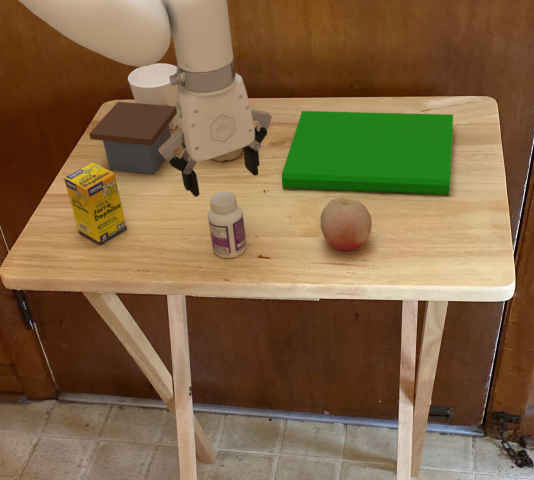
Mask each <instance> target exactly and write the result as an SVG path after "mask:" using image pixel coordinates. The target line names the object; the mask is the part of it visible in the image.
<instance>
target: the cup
mask: <svg viewBox="0 0 534 480" xmlns="http://www.w3.org/2000/svg"><path fill="white" fill-rule="evenodd" d="M176 72H177V67H176V65H175V64H174V65H173V64H170V63H161V62H159V63H154V64H152V65H149V66H144V67H137V68H136V69H134V70H132V71H131V72H130V73H129V74H128V77H127V81H128V84H129V87H130V89H131V90H130V91H131V92H132V96H133V99H134V101H135V103H140V104H151V105H163V106H175V107H177V87H178V85H174V86H172V84H171V82H170V78H169V77H170V76H171V75H174V74H175V73H176ZM176 127H178V123H177V114H176V115H175V117H174V118H173V119H172V120H171V122H170V123H169V129H170V131H171V130H172V131H173V130H175V129H176Z"/></svg>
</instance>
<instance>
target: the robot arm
mask: <svg viewBox="0 0 534 480" xmlns="http://www.w3.org/2000/svg"><path fill="white" fill-rule="evenodd" d="M17 1H18V2H19V3H21V4H22V5H23V6H24V7H25V8H27V9H28V11H30V12H31V13H32V14H34V15H35V16H36V17H38V18H39V19H40V20H42V21H44V22H45V23H46V24H47V25H49V26H50V27H52V28H53V29H54V30H56V31H57V32H58V33H60V34H61V35H63V36H64V37H66V38H67V39H69V40H70V41H72V42H74V43H76V44H78V45H79V46H81V47H84V48H85V49H88V50H90V51H91V52H94V53H97V54H98V55H101V56H103V57H106V58H107V59H109V60H113V61H115V62H117V63H120V64H123V65H126V66H130V67H137V68H140V67H144V66H149V65H152V64H157V63H158V62H159V61H161V59H162V58H163V57H164V56H165V55H166V53H167V52H168V50H169V47H170V44H171V39H172V41H173V46H174V52H175V57H176V58H175V59H176V64H177V65H175V66H176V67H177V72H176V73H175V74H174V75H171V76H170V77H169V78H170V82H171V84H172V86H174V85H178V87H177V123H178V125H177V131H176V132H175V133H173V134H172V135H171V137H170V138H169V139H168V140H167V141H166V142H165V143H164V144H163V145H162V146H161V147H160V148H159V149H158V151H159V153H160V154H161V155H162V156H163V157H164V158H165V161H166V162H167V163H169V165H170V166H171V168H174V169H175V170H178V171H180V172H181V178H182V183H183V187H184V189H185V190H186V191H187V192H188V191H189V192H190V193H191V194H192V195H193V196H194V197H195V198H197V197H199V196H200V188H199V183H198V177H197V173H196V171H195V170H194V168H195V167H196V164H197V163H198V162H199V163H200V162H205V161H209V160H213V159H212V158H215V157H218V156H221V155H224V154H227V153H230V152H232V151H235V150H238V149H241V148H242V152H243V161H244V167H245V169H247V171H248V172H249V173H250V174H251V175H252V176H255V177H256V176H259V166H260V156H259V150H260V149H261V148H262V143H263V142H264V139H265V138H266V136H268V129H269V127H270V124H271V122H272V117H273V116H272V115H271V114H269V112H268V111H264V110H259V109H254V108H251V103H250V100H249V96H248V92H247V88H246V85H245V83H244V80H243V77H242V76H241V75H240V74H238V73H237V72H236V68H235V67H236V66H235V58H234V50H233V43H232V34H231V25H230V18H229V17H230V16H229V9H228V1H227V0H17ZM254 122H257V125H256V126H255V124H254ZM180 146H181V148H182V151H181V153H180V154H179V157H178V156H176V155H174V151H176V150H177V149H178V148H180Z"/></svg>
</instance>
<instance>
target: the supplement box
mask: <svg viewBox="0 0 534 480" xmlns="http://www.w3.org/2000/svg"><path fill="white" fill-rule="evenodd" d="M63 180H64V184H65V188H66V191H67V195H68V198H69V202H70V206H71V209H72V213H73V217H74V220H75V225H76V227H77V231H78V233H79V234H80V235H82V236H83V237H85V238H87V239H89V240H90V241H92V242H94V243H96V244H97V245H99V246H102V245H103V244H105V243H106V242H107V241H109V240H110V239H113V238H115V237H116V236H117V235H119V234H121V233H123V232H124V231H127V230H128V226H127V223H126V218H125V214H124V209H123V205H122V201H121V195H120V192H119V188H118V183H117V178H116V175H115V172H113V171H112V170H110V169H107V168H104V167H103V166H101V165H99V164H98V163H95V162H93V161H92V162H90V163H89V164H87V165H86V166H84V167H82V168H80V169H78V170H76V171H74V172H72V173H70V174H69V175H65V176H64V178H63Z"/></svg>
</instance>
